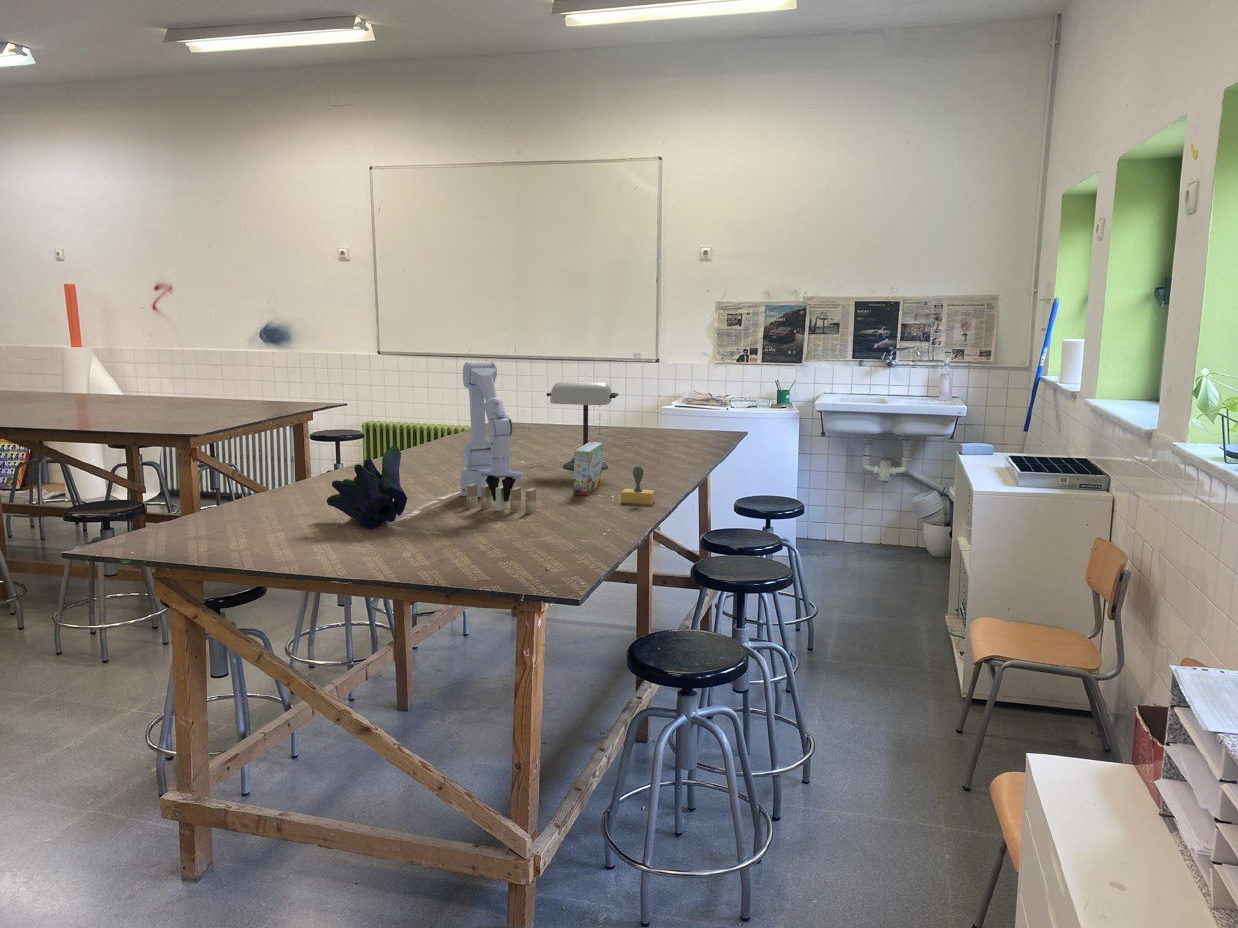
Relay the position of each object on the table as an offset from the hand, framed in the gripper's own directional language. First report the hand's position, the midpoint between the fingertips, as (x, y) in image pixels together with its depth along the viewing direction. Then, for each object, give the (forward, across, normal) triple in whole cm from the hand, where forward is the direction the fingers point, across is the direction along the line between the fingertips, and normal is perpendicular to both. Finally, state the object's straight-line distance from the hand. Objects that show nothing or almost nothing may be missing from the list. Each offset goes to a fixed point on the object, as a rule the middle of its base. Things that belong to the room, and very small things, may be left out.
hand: (501, 500), depth 276 cm
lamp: (+3, 0, +74) cm, 74 cm away
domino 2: (+3, -5, 0) cm, 6 cm away
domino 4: (+3, +5, 0) cm, 6 cm away
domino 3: (+3, 0, 0) cm, 3 cm away
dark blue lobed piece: (+3, -30, -26) cm, 39 cm away
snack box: (+3, +15, +38) cm, 41 cm away
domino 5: (+3, +10, 0) cm, 10 cm away
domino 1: (+3, -10, 0) cm, 10 cm away
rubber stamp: (+3, +36, +25) cm, 44 cm away
